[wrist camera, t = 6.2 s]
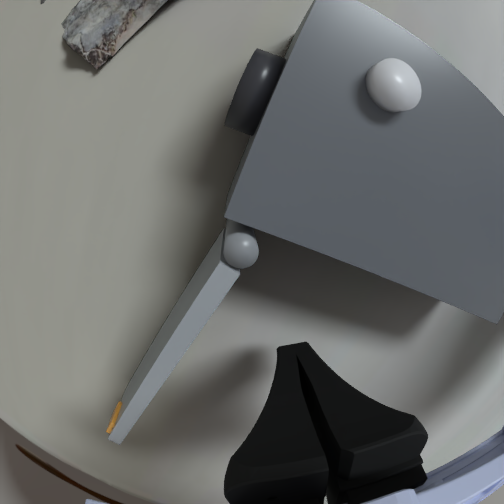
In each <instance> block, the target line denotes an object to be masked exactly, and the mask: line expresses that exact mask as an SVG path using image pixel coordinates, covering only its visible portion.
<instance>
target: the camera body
mask: <svg viewBox="0 0 504 504" xmlns="http://www.w3.org/2000/svg"><path fill="white" fill-rule="evenodd" d="M225 126H227V127H229V128H232V129H235V130H238V131H240V132H243V133H246V134H249V135H251V137H250V139H249V141H248V144H247V146H246V149H245V151H244V154H243V156H242V159H241V162H240V164H239V167H238V169H237V172H236V174H235V177H234V179H233V182H232V185H231V187H230V190H229V193H228V196H227V202H226V208H225V214H224V217H225V218H227V219H230V220H233V221H236V222H239V223H241V224H244V225H247V226H250V227H252V228H255V229H258V230H261V231H263V232H266V233H269V234H271V235H274V236H277V237H280V238H282V239H285V240H288V241H290V242H293V243H296V244H298V245H301V246H304V247H306V248H309V249H312V250H314V251H317V252H320V253H322V254H325V255H327V256H330V257H333V258H335V259H338V260H340V261H343V262H346V263H348V264H351V265H353V266H356V267H358V268H361V269H364V270H366V271H369V272H371V273H374V274H376V275H379V276H381V277H384V278H386V279H389V280H391V281H394V282H396V283H399V284H401V285H404V286H406V287H409V288H411V289H414V290H416V291H419V292H421V293H424V294H426V295H428V296H431V297H433V298H436V299H438V300H441V301H443V302H445V303H448V304H450V305H453V306H455V307H457V308H460V309H462V310H464V311H467V312H469V313H471V314H474V315H476V316H478V317H481V318H483V319H485V320H488V321H490V322H492V323H495V324H498V322H499V320H500V318H501V317H502V315H503V313H504V116H503V115H502V114H501V113H500V112H499V110H498V109H497V108H496V107H495V106H494V105H493V104H492V103H491V102H490V101H489V100H488V98H487V97H486V96H485V95H484V94H483V93H482V92H481V91H480V90H479V89H478V88H477V87H476V86H475V85H474V84H473V83H472V82H471V81H469V80H468V79H467V78H466V77H465V76H464V75H463V74H462V73H461V72H460V71H459V70H457V69H456V68H455V67H454V66H453V65H452V64H451V63H449V62H448V61H447V60H446V59H445V58H443V57H442V56H441V55H440V54H438V53H437V52H436V51H435V50H433V49H432V48H431V47H430V46H428V45H427V44H426V43H424V42H423V41H421V40H420V39H419V38H417V37H416V36H415V35H413V34H412V33H410V32H409V31H407V30H406V29H404V28H403V27H401V26H400V25H398V24H397V23H395V22H394V21H392V20H390V19H389V18H387V17H386V16H384V15H382V14H381V13H379V12H377V11H375V10H374V9H372V8H370V7H368V6H366V5H365V4H363V3H361V2H359V1H357V0H314V1H313V3H312V5H311V6H310V8H309V10H308V12H307V13H306V15H305V17H304V19H303V20H302V22H301V24H300V26H299V28H298V29H297V31H296V33H295V35H294V37H293V39H292V42H291V44H290V46H289V48H288V50H287V53H286V55H285V57H284V58H282V57H279V56H277V55H274V54H272V53H269V52H266V51H263V50H261V49H258V48H257V49H256V50H255V52H254V53H253V55H252V57H251V59H250V61H249V63H248V65H247V67H246V69H245V71H244V73H243V75H242V78H241V80H240V82H239V84H238V87H237V89H236V92H235V94H234V97H233V100H232V102H231V105H230V108H229V111H228V114H227V117H226V121H225Z"/></svg>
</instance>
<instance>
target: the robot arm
mask: <svg viewBox="0 0 504 504" xmlns="http://www.w3.org/2000/svg"><path fill="white" fill-rule="evenodd" d="M427 439H428V434H427V432H426V430H425V428H424V427H423V425H422V424H421V423H420V422H419V420H418V419H417V418H416V417H415V416H414V415H411V414H407V413H404V412H401V411H398V410H395V409H392V408H390V407H388V406H385V405H383V404H381V403H379V402H377V401H375V400H373V399H371V398H369V397H368V396H366V395H364V394H363V393H361V392H359V391H358V390H356V389H355V388H354V387H352V386H351V385H349V384H348V383H347V382H346V381H344V380H343V379H342V378H341V377H340V376H338V375H337V374H336V373H335V372H334V371H333V370H332V369H331V368H330V367H329V366H328V365H327V364H326V363H325V362H324V361H323V360H322V359H321V358H320V357H319V356H318V355H317V353H316V352H315V351H314V350H313V349H312V347H311V346H310V345H309V343H307V342H302V343H296V344H291V345H285V346H280V347H278V348H277V364H276V370H275V375H274V380H273V383H272V387H271V390H270V393H269V396H268V399H267V401H266V404H265V406H264V408H263V410H262V412H261V414H260V416H259V418H258V420H257V422H256V424H255V426H254V427H253V429H252V430H251V432H250V433H249V435H248V436H247V438H246V440H245V441H244V442H243V444H242V445H241V446H240V447H239V449H238V450H237V451H236V452H235V453H234V455H233V456H232V457H231V459H230V461H229V464H228V467H227V471H226V474H225V480H224V495H225V498H226V499H227V501H228V502H229V503H230V504H324V497H325V496H327V502H328V504H478V503H479V502H481V501H482V500H484V499H485V498H486V497H487V496H489V495H490V494H492V493H493V492H494V491H496V490H497V489H498V488H500V487H501V486H502V485H504V426H503V428H502V430H500V431H499V432H498V433H496V434H495V435H493V436H492V437H490V438H489V439H487V440H486V441H484V442H483V443H481V444H480V445H478V446H476V447H475V448H473V449H471V450H470V451H468V452H466V453H465V454H463V455H461V456H459V457H458V458H456V459H454V460H452V461H450V462H449V463H447V464H445V465H443V466H441V467H439V468H437V469H435V470H433V471H431V472H429V473H427V474H426V473H425V471H424V469H423V467H422V465H421V464H422V463H423V460H422V458H421V456H420V453H421V452H422V450H423V448H424V446H425V444H426V442H427ZM85 504H108V503H104V502H100V501H95V500H91V499H86V502H85Z"/></svg>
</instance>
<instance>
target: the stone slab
mask: <svg viewBox="0 0 504 504" xmlns="http://www.w3.org/2000/svg"><path fill="white" fill-rule="evenodd" d="M167 1H168V0H80V1H79V2H78V4H77V5H76V6H75V7H74V8H73V9H72V10H71V12H70V13H69V15H68V16H67V17H66V19H65V20H64V21H63V22H62V26H63V28H64V29H65V33H64V34H63V38H64V39H65V40H66V41H67V42H66V43H67V44H68V45H69V46H70V47H71V48H72V49H73V50H74V51H76V52H77V53H78V54H80V55H81V56H82V57H83V58H84V59H86V60H87V61H88V62H89V63H90V64H92V65H93V66H94V68H96V69H98V68H99V67H100V66H101V65H102V64H104V63H105V62H106V61H107V59H108V58H109V56H110V57H113V56H114V54H115V53H116V52H117V51H118V50H119V49H120V48H121V46H122V45H123V44H124V43H125V42H126V41H127V40H128V39H129V38H130V37H131V36H132V35H133V34H134V33H135V32H136V31H137V30H138V29H139V28H140V27H141V26H142V25H143V24H144V23H145V22H146V21H147V20H148V19H149V18H150V17H151V16H152V15H153V14H154V13H155V12H156V11H157V10H158V9H159V8H160V7H161V6H162V5H163V4H164V3H165V2H167ZM44 2H45V0H41V4H42V3H44Z"/></svg>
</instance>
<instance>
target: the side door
mask: <svg viewBox="0 0 504 504" xmlns="http://www.w3.org/2000/svg"><path fill="white" fill-rule="evenodd" d="M258 255H259V249H258V245H257V241H256V237H255V233H254V229H253V228H252V227H250V226H247V225H244V224H241V223H239V222H236V221H233V220H230V219H227V223H226V229H225V228H224V229H223V230H222V232H221V233H220V235H219V236H218V238H217V240H216V241H215V243H214V244H213V246H212V247H211V249H210V250H209V252H208V254H207V255H206V257H205V258H204V260H203V261H202V263H201V265H200V266H199V268H198V269H197V271H196V272H195V274H194V276H193V277H192V279H191V280H190V282H189V284H188V285H187V287H186V288H185V290H184V292H183V293H182V295H181V296H180V298H179V300H178V301H177V303H176V305H175V306H174V308H173V309H172V311H171V313H170V314H169V316H168V318H167V319H166V321H165V323H164V324H163V326H162V328H161V329H160V331H159V333H158V334H157V336H156V338H155V339H154V341H153V343H152V344H151V346H150V348H149V349H148V351H147V353H146V355H145V356H144V358H143V360H142V361H141V363H140V365H139V367H138V368H137V370H136V372H135V373H134V375H133V377H132V379H131V380H130V382H129V384H128V386H127V387H126V389H125V392H124V394H123V397H122V400H121V402H120V401H119V402H118V404H117V406H116V408H115V409H114V411H113V414H112V417H111V419H110V422H109V425H108V428H107V431H106V432H107V433H109V436H108V440H110V441H113V442H115V443H117V444H119V445H120V444H121V442H122V441H123V440H124V438H125V437H126V435H127V434H128V433H129V431H130V430H131V428H132V427H133V426H134V424H135V423H136V421H137V420H138V419H139V417H140V416H141V414H142V413H143V412H144V410H145V409H146V407H147V406H148V404H149V403H150V402H151V400H152V399H153V397H154V396H155V395H156V393H157V392H158V390H159V389H160V388H161V386H162V385H163V383H164V382H165V380H166V379H167V378H168V376H169V375H170V373H171V372H172V371H173V369H174V368H175V366H176V365H177V363H178V362H179V361H180V359H181V358H182V356H183V355H184V354H185V352H186V351H187V349H188V348H189V346H190V345H191V344H192V342H193V341H194V339H195V338H196V337H197V335H198V334H199V332H200V331H201V329H202V328H203V327H204V325H205V324H206V322H207V321H208V320H209V318H210V317H211V315H212V314H213V312H214V311H215V310H216V308H217V307H218V305H219V304H220V302H221V301H222V300H223V298H224V297H225V295H226V294H227V293H228V291H229V290H230V288H231V287H232V285H233V284H234V283H235V281H236V280H237V278H238V277H239V275H240V268H247V267H249V266H251V265H252V264H254V263H255V261H256V260H257V258H258Z"/></svg>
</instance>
